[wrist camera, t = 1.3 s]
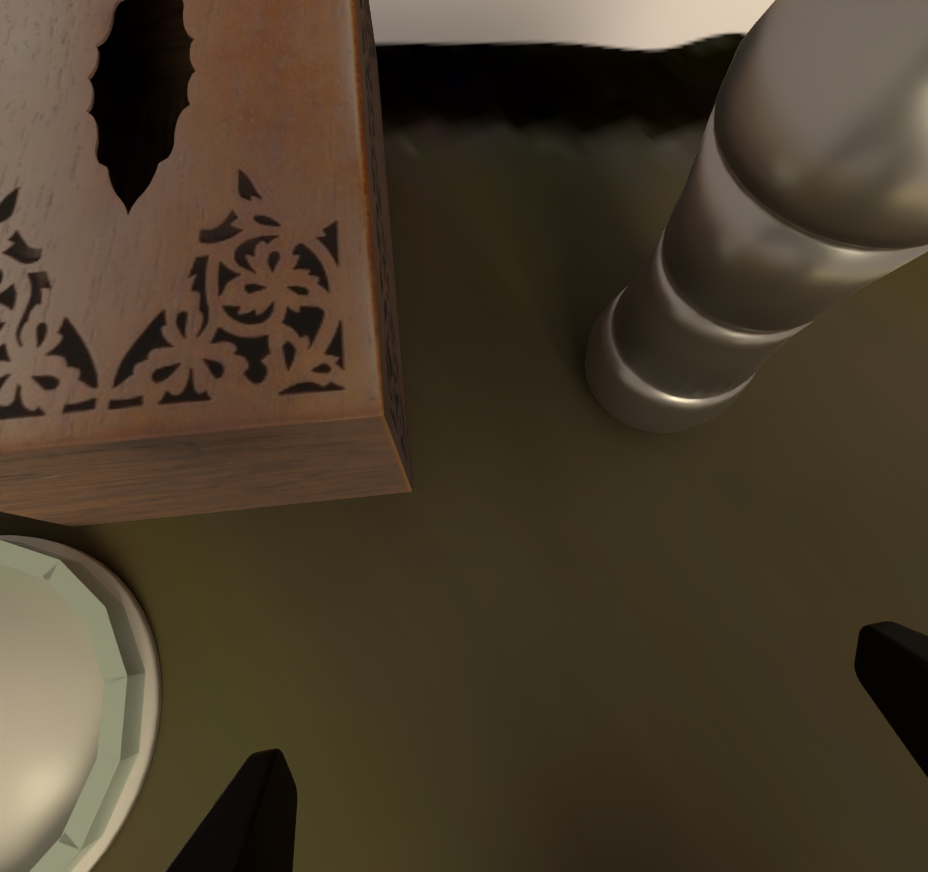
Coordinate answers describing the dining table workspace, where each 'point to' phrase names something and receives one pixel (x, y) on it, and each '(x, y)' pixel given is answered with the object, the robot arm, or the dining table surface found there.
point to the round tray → (70, 706)
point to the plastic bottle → (776, 209)
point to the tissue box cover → (194, 260)
